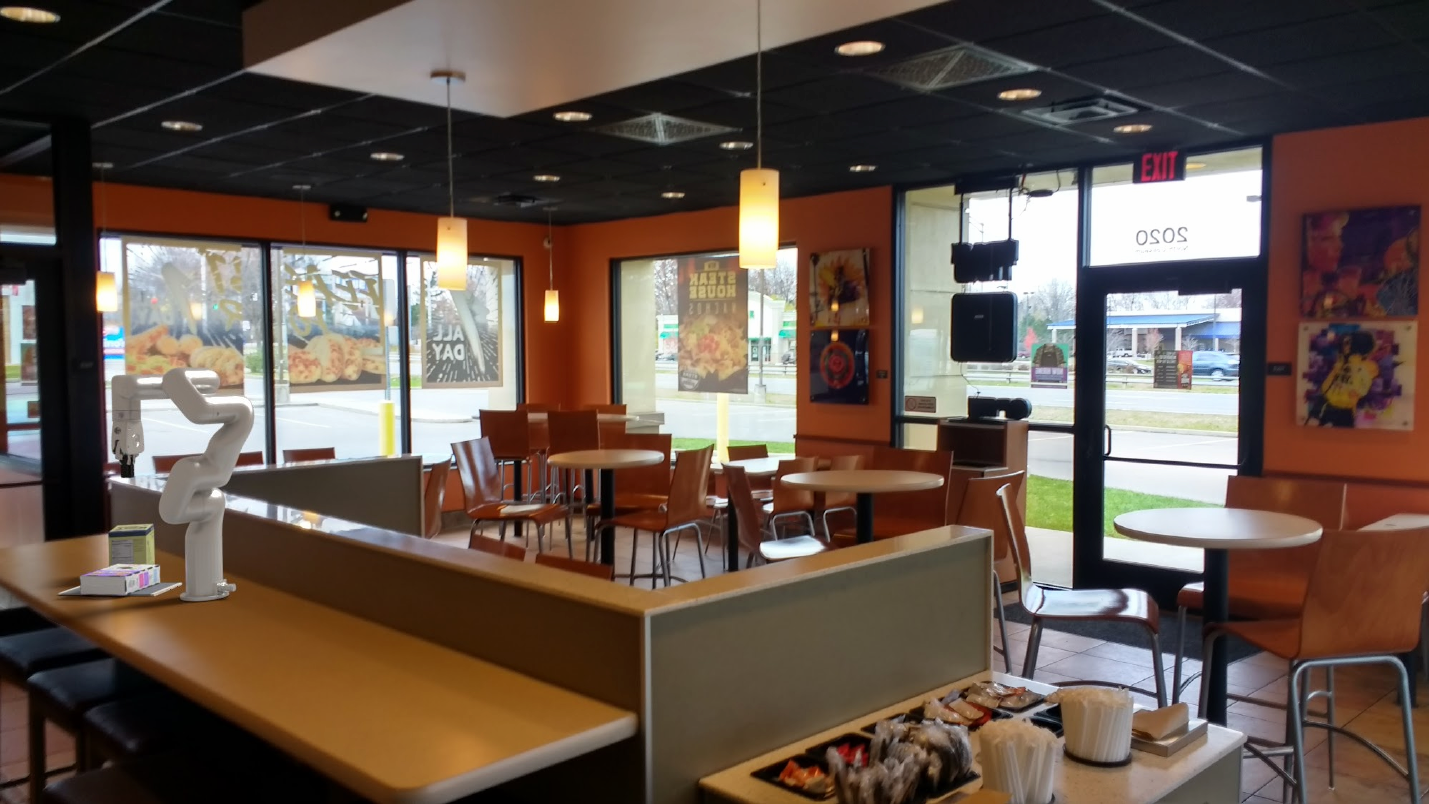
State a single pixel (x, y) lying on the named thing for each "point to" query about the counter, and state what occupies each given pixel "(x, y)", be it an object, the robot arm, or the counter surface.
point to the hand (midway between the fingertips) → (127, 477)
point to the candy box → (119, 579)
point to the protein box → (131, 544)
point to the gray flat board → (147, 591)
